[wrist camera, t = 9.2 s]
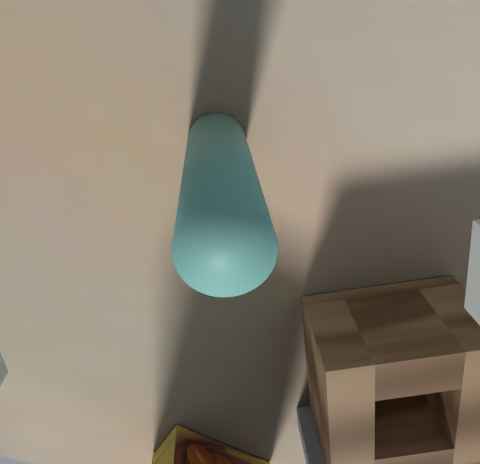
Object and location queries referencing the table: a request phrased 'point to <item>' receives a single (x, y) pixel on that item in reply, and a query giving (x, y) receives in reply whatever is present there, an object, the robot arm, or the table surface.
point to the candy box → (198, 450)
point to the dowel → (222, 213)
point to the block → (394, 374)
